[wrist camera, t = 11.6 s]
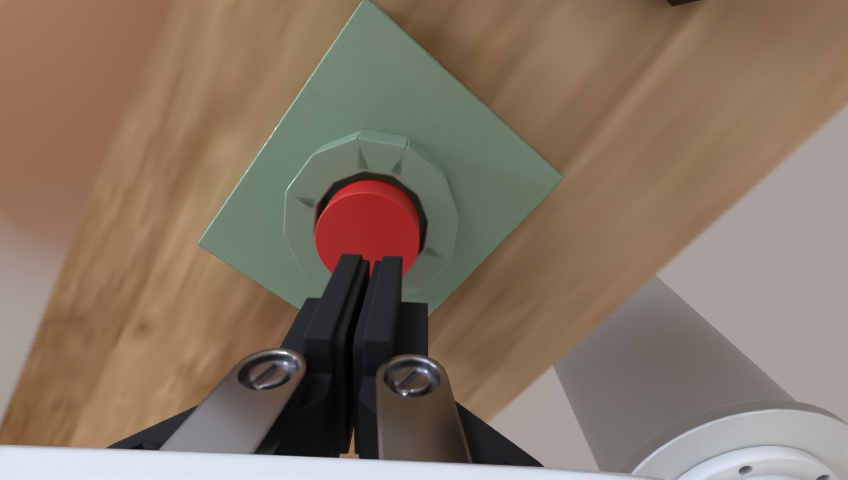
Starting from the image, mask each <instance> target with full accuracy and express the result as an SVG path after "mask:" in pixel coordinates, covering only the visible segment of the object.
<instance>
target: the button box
mask: <svg viewBox="0 0 848 480" xmlns="http://www.w3.org/2000/svg"><path fill="white" fill-rule="evenodd" d="M563 178H564V177H563V175H562V174H561V173H560V172H558V171H557V170H556V169H555V168H554V167H553V166H552V165H551V164H550V163H549V162H548V161H546V160H545V159H544V158H543V157H542V156H541V155H540V154H539V153H538V152H537V151H535V150H534V149H533V148H532V147H531V146H530V145H529V144H528V143H527V142H526V141H524V140H523V139H522V138H521V137H520V136H519V135H518V134H517V133H516V132H515V131H514V130H512V129H511V128H510V127H509V126H508V125H507V124H506V123H505V122H504V121H503V120H501V119H500V118H499V117H498V116H497V115H496V114H495V113H494V112H493V111H492V110H491V109H489V108H488V107H487V106H486V105H485V104H484V103H483V102H482V101H481V100H480V99H478V98H477V97H476V96H475V95H474V94H473V93H472V92H471V91H470V90H469V89H468V88H466V87H465V86H464V85H463V84H462V83H461V82H460V81H459V80H458V79H457V78H455V77H454V76H453V75H452V74H451V73H450V72H449V71H448V70H447V69H446V68H444V67H443V66H442V65H441V64H440V63H439V62H438V61H437V60H436V59H435V58H434V57H432V56H431V55H430V54H429V53H428V52H427V51H426V50H425V49H424V48H423V47H421V46H420V45H419V44H418V43H417V42H416V41H415V40H414V39H413V38H412V37H411V36H409V35H408V34H407V33H406V32H405V31H404V30H403V29H402V28H401V27H400V26H398V25H397V24H396V23H395V22H394V21H393V20H392V19H391V18H390V17H389V16H388V15H386V14H385V13H384V12H383V11H382V10H381V9H380V8H379V7H378V6H377V5H375V4H374V3H373V2H372V1H371V0H362V1H361V3H360V4H359V6H358V7H357V8H356V10H355V11H354V13H353V14H352V16H351V17H350V19H349V20H348V22H347V23H346V25H345V26H344V28H343V29H342V31H341V32H340V34H339V35H338V36H337V38H336V39H335V41H334V42H333V44H332V45H331V47H330V48H329V50H328V51H327V53H326V54H325V56H324V57H323V59H322V60H321V62H320V63H319V65H318V66H317V67H316V69H315V70H314V72H313V73H312V75H311V76H310V78H309V79H308V81H307V82H306V84H305V85H304V87H303V88H302V90H301V91H300V93H299V94H298V95H297V97H296V98H295V100H294V101H293V103H292V104H291V106H290V107H289V109H288V110H287V112H286V113H285V115H284V116H283V118H282V119H281V121H280V122H279V124H278V125H277V126H276V128H275V129H274V131H273V132H272V134H271V135H270V137H269V138H268V140H267V141H266V143H265V144H264V146H263V147H262V149H261V150H260V152H259V153H258V155H257V156H256V157H255V159H254V160H253V162H252V163H251V165H250V166H249V168H248V169H247V171H246V172H245V174H244V175H243V177H242V178H241V180H240V181H239V183H238V184H237V185H236V187H235V188H234V190H233V191H232V193H231V194H230V196H229V197H228V199H227V200H226V202H225V203H224V205H223V206H222V208H221V209H220V211H219V212H218V214H217V215H216V216H215V218H214V219H213V221H212V222H211V224H210V225H209V227H208V228H207V230H206V231H205V233H204V234H203V236H202V237H201V239H200V240H199V242H198V245H199V246H200V247H202V248H203V249H205V250H207V251H208V252H210V253H211V254H213V255H214V256H216V257H218V258H219V259H221V260H222V261H224V262H225V263H227V264H228V265H230V266H232V267H233V268H235V269H236V270H238V271H239V272H241V273H243V274H244V275H246V276H247V277H249V278H250V279H252V280H254V281H255V282H257V283H258V284H260V285H261V286H263V287H264V288H266V289H268V290H269V291H271V292H272V293H274V294H275V295H277V296H279V297H280V298H282V299H283V300H285V301H286V302H288V303H289V304H291V305H293V306H294V307H296V308H297V309H299V310H300V309H301V307H302V305H303V304H304V302H305V300H306V299H307V298H321V297H322V294H323V292H324V290H325V288H326V286H327V284H328V282H329V280H330V278H331V275H332V273H331V272H330V271H329V270H328V269H327V268H326V267H325V265H324V264H323V262H322V261H321V259H320V257H319V255H318V252H317V249H316V244H315V230H316V226H317V222H318V220H319V218H320V216H321V214H322V213H323V211H324V209H325V208H326V206H327V205H328V203H329V202H330V200H331V199H332V197H333V196H334V195H335V193H336V192H337V191H338V190H340V189H341V188H342V187H344V186H345V185H347V184H349V183H351V182H354V181H357V180H361V179H379V180H383V181H387V182H389V183H392V184H394V185H396V186H397V187H399V188H400V189H402V190H403V191H404V192H405V193H406V194H407V195H408V196H409V197H410V199H411V200H412V202H413V203H414V205H415V207H416V209H417V212H418V216H419V230H420V244H419V251H418V255H417V258H416V260H415V262H414V264H413V266H412V267H411V268H410V270H409V271H408V272H407V273H406V274H405V275H404V276H402V302H419V303H428V317H429V316H430V315H431V314H432V313H433V312H434V311H435V310H436V309H437V308H438V307H439V306H440V305H441V304H442V303H443V302H444V301H445V300H446V299H447V298H448V297H449V296H450V295H451V293H452V292H453V291H454V290H455V289H456V288H457V287H458V286H459V285H460V284H461V283H462V282H463V281H464V280H465V279H466V278H467V277H468V276H469V275H470V274H471V273H472V272H473V271H474V270H475V269H476V268H477V267H478V266H479V265H480V264H481V263H482V262H483V261H484V260H485V259H486V258H487V257H488V256H489V255H490V254H491V252H492V251H493V250H494V249H495V248H496V247H497V246H498V245H499V244H500V243H501V242H502V241H503V240H504V239H505V238H506V237H507V236H508V235H509V234H510V233H511V232H512V231H513V230H514V229H515V228H516V227H517V226H518V225H519V224H520V223H521V222H522V221H523V220H524V219H525V218H526V217H527V216H528V215H529V214H530V213H531V211H532V210H533V209H534V208H535V207H536V206H537V205H538V204H539V203H540V202H541V201H542V200H543V199H544V198H545V197H546V196H547V195H548V194H549V193H550V192H551V191H552V190H553V189H554V188H555V187H556V186H557V185H558V184H559V183H560V182H561V181H562V180H563Z"/></svg>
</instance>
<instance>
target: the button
mask: <svg viewBox="0 0 848 480" xmlns="http://www.w3.org/2000/svg"><path fill="white" fill-rule="evenodd" d="M315 244H316V249H317V252H318V255H319V257H320V259H321V261H322V262H323V264H324V265H325V267H326V268H327V269H328V270H329V271H330V272H331V273H333V271H334V269H335V267H336V265H337V263H338V261H339V259H340V256H341V255H342V254H362V256H363V260H369V261H370V277H371V273H372V270H373V266H374V263H375V260H381V261H382V258H383V256H403V273H402V276H404V275H405V274H406V273H407V272H408V271H409V270H410V268H411V267H412V266H413V264H414V262H415V260H416V258H417V255H418V251H419V244H420V230H419V216H418V212H417V209H416V207H415V205H414V203H413V202H412V200H411V199H410V197H409V196H408V195H407V194H406V193H405V192H404V191H403V190H402V189H400V188H399V187H397V186H396V185H394V184H392V183H389V182H387V181H383V180H379V179H361V180H357V181H354V182H351V183H349V184H347V185H345V186H344V187H342V188H341V189H340V190H338V191H337V192H336V193H335V195H334V196H333V197H332V199H331V200H330V202H329V203H328V205H327V206H326V208H325V209H324V211H323V213H322V214H321V216H320V218H319V220H318V222H317V226H316V230H315Z"/></svg>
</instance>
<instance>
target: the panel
mask: <svg viewBox="0 0 848 480" xmlns="http://www.w3.org/2000/svg"><path fill="white" fill-rule="evenodd" d="M695 1H700V0H668V2H669V3H670V4H671V5H672V6H677V5H681V4H686V3H691V2H695Z"/></svg>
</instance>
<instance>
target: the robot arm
mask: <svg viewBox="0 0 848 480" xmlns="http://www.w3.org/2000/svg"><path fill="white" fill-rule="evenodd" d="M402 273H403V256H383V258H382V261H381V260H375V263H374V266H373V270H372V273H371V277H370V261H369V260H363V256H362V254H342V255H341V256H340V259H339V261H338V263H337V265H336V267H335V269H334V271H333V273H332V275H331V278H330V280H329V282H328V284H327V286H326V288H325V290H324V292H323V294H322V297H321V298H307V299H306V300H305V302H304V304H303V305H302V307H301V309H300V311H299V313H298V315H297V317H296V319H295V320H294V322H293V324H292V326H291V328H290V330H289V332H288V333H287V335H286V337H285V339H284V341H283V343H282V345H281V346H280V348H272V349H265V350H261V351H258V352H255V353H252V354H250V355H248V356H247V357H245V358H243V359H242V360H241V361H239V362H238V363H237V364H236V365H235V366H234V367H233V368H232V369H231V370H230V371H229V372H228V374H227V375H226V376H225V377H224V378H223V379H222V380H221V381H220V382H219V384H218V385H217V386H216V387H215V388H214V389H213V390H212V391H211V392H210V394H209V395H208V396H207V397H206V398H205V399H204V400H203V401H202V402H201V404H199V405H197V406H195V407H193V408H191V409H189V410H186V411H184V412H182V413H180V414H178V415H176V416H173V417H171V418H169V419H167V420H165V421H162V422H160V423H158V424H156V425H154V426H152V427H149V428H147V429H145V430H143V431H141V432H138V433H136V434H134V435H132V436H130V437H128V438H125V439H123V440H121V441H119V442H117V443H114V444H113V445H111V446H109V447H107V448H79V447H52V446H24V445H0V480H663V479H658V478H652V477H645V476H639V475H632V474H626V473H614V472H602V471H589V470H576V469H564V468H550V467H544V466H543V465H542V464H541V463H540V462H538V461H537V460H536V459H534V458H533V457H532V456H530V455H529V454H527V453H526V452H525V451H523V450H522V449H521V448H519V447H517V446H516V445H515V444H514V443H512V442H511V441H510V440H508V439H507V438H505V437H504V436H503V435H501V434H500V433H499V432H497V431H496V430H494V429H493V428H492V427H490V426H489V425H488V424H486V423H485V422H483V421H482V420H481V419H479V418H478V417H477V416H475V415H474V414H472V413H471V412H470V411H468V410H467V409H466V408H464V407H463V406H461V405H460V404H459V403H457V402H456V401H455V400H454V396H453V393H452V389H451V386H450V382H449V379H448V375H447V373H446V371H445V369H444V367H443V366H442V365H440V364H439V363H438V362H437V361H435V360H433V359H431V358H429V357H428V303H419V302H402ZM353 429H354V443H355V454H359V459H352V458H339V455H340V453H341V454H348V452H349V448H350V443H351V438H352V434H353ZM677 480H840V479H839V478H838V477H837V476H836V475H835V474H834V473H833V471H832V470H831V469H830V468H829V467H828V466H827V465H826V464H825V463H824V462H822V461H821V460H820V459H818V458H817V457H816V456H814V455H812V454H810V453H807V452H805V451H803V450H800V449H795V448H790V447H785V446H756V447H747V448H742V449H738V450H733V451H729V452H726V453H723V454H721V455H718V456H715V457H712V458H710V459H708V460H706V461H704V462H702V463H700V464H698V465H696V466H694V467H693V468H691V469H690V470H688V471H687V472H685V473H684V474H682V475H681V476H680V477H679V478H678V479H677Z"/></svg>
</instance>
